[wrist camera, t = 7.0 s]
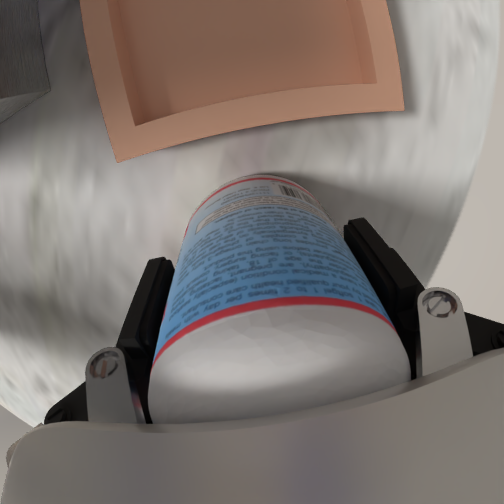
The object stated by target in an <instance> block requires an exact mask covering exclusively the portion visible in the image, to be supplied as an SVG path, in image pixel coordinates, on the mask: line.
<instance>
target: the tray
mask: <svg viewBox="0 0 504 504" xmlns="http://www.w3.org/2000/svg"><path fill="white" fill-rule="evenodd" d="M79 1H80V8H81V15H82V22H83V28H84V34H85V39H86V45H87V50H88V55H89V60H90V65H91V69H92V74H93V78H94V82H95V87H96V91H97V95H98V99H99V103H100V106H101V110H102V114H103V118H104V121H105V125H106V128H107V132H108V135H109V138H110V142H111V145H112V148H113V152H114V155H115V158H116V161H117V163H119V162H122V161H125V160H128V159H131V158H134V157H137V156H140V155H144V154H147V153H150V152H153V151H157V150H160V149H163V148H167V147H170V146H174V145H178V144H181V143H185V142H189V141H193V140H197V139H201V138H205V137H209V136H213V135H218V134H222V133H226V132H231V131H236V130H241V129H246V128H251V127H256V126H261V125H267V124H273V123H279V122H285V121H292V120H299V119H306V118H314V117H322V116H331V115H341V114H352V113H365V112H382V111H405V110H404V99H403V90H402V82H401V74H400V67H399V61H398V54H397V49H396V43H395V38H394V33H393V28H392V24H391V19H390V15H389V11H388V7H387V3H386V0H79Z"/></svg>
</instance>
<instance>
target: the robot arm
mask: <svg viewBox="0 0 504 504" xmlns="http://www.w3.org/2000/svg"><path fill="white" fill-rule="evenodd" d="M344 241H345V242H346V244H347V245H348V247H349V249H350V250H351V252H352V254H353V255H354V257H355V258H356V260H357V262H358V264H359V265H360V267H361V269H362V270H363V272H364V274H365V275H366V277H367V279H368V281H369V282H370V284H371V286H372V288H373V289H374V291H375V293H376V295H377V297H378V298H379V300H380V302H381V304H382V306H383V307H384V309H385V311H386V313H387V315H388V317H389V318H390V320H391V322H392V324H393V326H394V328H395V330H396V332H397V334H398V336H399V338H400V340H401V342H402V344H403V347H404V349H405V351H406V353H407V356H408V359H409V363H410V369H411V381H409V382H406V383H403V384H400V385H397V386H394V387H391V388H388V389H385V390H381V391H378V392H375V393H371V394H368V395H364V396H361V397H357V398H353V399H349V400H345V401H341V402H337V403H333V404H329V405H324V406H320V407H315V408H310V409H305V410H300V411H295V412H289V413H283V414H277V415H271V416H264V417H257V418H249V419H240V420H230V421H219V422H205V423H185V424H153V422H152V419H151V416H150V412H149V407H148V390H149V383H150V374H151V369H152V365H153V360H154V356H155V351H156V346H157V342H158V337H159V333H160V327H161V323H162V319H163V315H164V311H165V307H166V304H167V300H168V296H169V292H170V288H171V284H172V280H173V276H174V272H175V269H174V267H173V264H172V262H171V260H166V258H165V257H160V258H155V259H150V260H149V261H148V263H147V266H146V268H145V270H144V273H143V275H142V278H141V280H140V282H139V285H138V287H137V290H136V292H135V295H134V298H133V300H132V303H131V305H130V308H129V311H128V313H127V316H126V319H125V321H124V324H123V327H122V330H121V332H120V335H119V338H118V342H117V344H116V347H107V348H104V349H101V350H100V351H98V352H96V353H95V354H94V355H93V356H92V357H91V358H90V360H89V361H88V363H87V365H86V371H85V376H86V381H85V382H84V383H82V384H81V385H80V386H79V387H77V388H76V389H75V390H73V391H72V392H71V393H69V394H68V395H67V396H66V397H64V398H63V399H62V400H60V401H59V402H58V403H56V404H55V405H54V406H53V407H52V408H51V409H50V410H49V411H48V413H47V414H46V417H45V420H44V425H43V424H42V423H40V424H39V425H37V426H36V427H35V428H33V429H32V430H30V431H29V432H27V433H26V434H25V435H24V436H22V438H20V439H19V440H18V441H16V442H15V443H14V444H12V445H11V447H10V448H9V450H8V452H7V457H6V460H7V465H8V471H7V475H6V479H5V483H4V488H3V493H2V498H1V504H504V324H501V323H498V322H495V321H492V320H489V319H485V318H482V317H479V316H476V315H473V314H470V313H466V312H464V310H463V307H462V303H461V301H460V299H459V297H458V296H457V295H456V294H455V293H453V292H452V291H450V290H447V289H445V288H439V287H434V288H429V289H425V288H424V287H423V285H422V284H421V283H420V281H419V280H418V279H417V278H416V276H415V275H414V274H413V272H412V271H411V270H410V268H409V267H408V266H407V265H406V263H405V262H404V261H403V260H402V258H401V257H400V256H399V255H398V253H397V252H396V251H395V250H394V249H393V248H389V247H388V245H387V244H386V243H385V242H384V240H383V239H382V238H381V237H380V236H379V234H378V233H377V232H376V231H375V230H374V228H373V227H372V226H371V225H370V224H369V223H368V221H367V220H366V219H365V218H358V219H353V220H349V221H348V225H344Z"/></svg>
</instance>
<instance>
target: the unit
mask: <svg viewBox="0 0 504 504" xmlns="http://www.w3.org/2000/svg"><path fill="white" fill-rule="evenodd" d="M48 91H50V86H49V82H48V77H47V72H46V67H45V61H44V55H43V49H42V42H41V35H40V27H39V17H38V6H37V0H0V124H1V123H2V122H4V121H5V120H6V119H8V118H9V117H10V116H12V115H13V114H15V113H16V112H17V111H19V110H20V109H22V108H23V107H25V106H26V105H28V104H29V103H31V102H32V101H34V100H35V99H37V98H39V97H40V96H42V95H43V94H45V93H47V92H48Z"/></svg>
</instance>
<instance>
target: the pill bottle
mask: <svg viewBox="0 0 504 504" xmlns="http://www.w3.org/2000/svg"><path fill="white" fill-rule="evenodd" d="M409 381H411V369H410V363H409V359H408V356H407V353H406V351H405V349H404V347H403V344H402V342H401V340H400V338H399V336H398V334H397V332H396V330H395V328H394V326H393V324H392V322H391V320H390V318H389V317H388V315H387V313H386V311H385V309H384V307H383V306H382V304H381V302H380V300H379V298H378V297H377V295H376V293H375V291H374V289H373V288H372V286H371V284H370V282H369V281H368V279H367V277H366V275H365V274H364V272H363V270H362V269H361V267H360V265H359V264H358V262H357V260H356V258H355V257H354V255H353V254H352V252H351V250H350V249H349V247H348V245H347V244H346V242H345V241H344V239H343V238H342V236H341V234H340V233H339V231H338V230H337V228H336V227H335V225H334V224H333V222H332V221H331V219H330V218H329V216H328V215H327V213H326V212H325V210H324V209H323V207H322V206H321V205H320V203H319V202H318V201H317V199H316V198H315V197H314V196H313V195H312V194H311V193H310V192H308V191H307V190H306V189H305V188H303V187H302V186H300V185H299V184H297V183H295V182H293V181H290V180H288V179H285V178H282V177H278V176H273V175H250V176H245V177H241V178H238V179H235V180H232V181H230V182H228V183H226V184H224V185H222V186H221V187H219V188H218V189H216V190H215V191H213V192H212V193H211V194H210V195H208V196H207V197H206V198H205V199H204V200H203V201H202V202H201V204H200V205H199V206H198V207H197V208H196V210H195V211H194V213H193V215H192V217H191V219H190V221H189V223H188V226H187V229H186V232H185V236H184V239H183V243H182V246H181V250H180V254H179V258H178V262H177V265H176V268H175V272H174V276H173V280H172V284H171V288H170V292H169V296H168V300H167V304H166V307H165V311H164V315H163V319H162V323H161V327H160V333H159V337H158V342H157V346H156V351H155V356H154V360H153V365H152V369H151V374H150V383H149V390H148V407H149V412H150V416H151V419H152V422H153V424H185V423H205V422H219V421H230V420H240V419H249V418H257V417H264V416H271V415H277V414H283V413H289V412H295V411H300V410H305V409H310V408H315V407H320V406H324V405H329V404H333V403H337V402H341V401H345V400H349V399H353V398H357V397H361V396H364V395H368V394H371V393H375V392H378V391H381V390H385V389H388V388H391V387H394V386H397V385H400V384H403V383H406V382H409Z"/></svg>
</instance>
